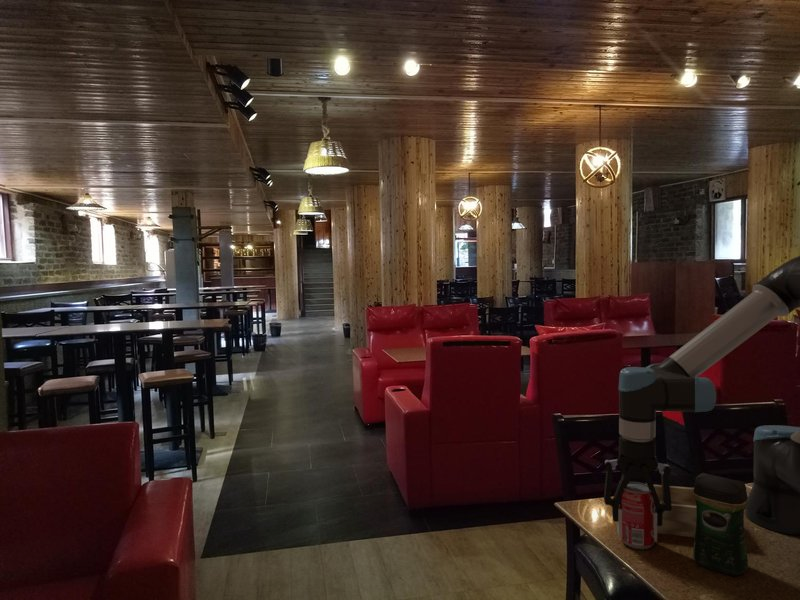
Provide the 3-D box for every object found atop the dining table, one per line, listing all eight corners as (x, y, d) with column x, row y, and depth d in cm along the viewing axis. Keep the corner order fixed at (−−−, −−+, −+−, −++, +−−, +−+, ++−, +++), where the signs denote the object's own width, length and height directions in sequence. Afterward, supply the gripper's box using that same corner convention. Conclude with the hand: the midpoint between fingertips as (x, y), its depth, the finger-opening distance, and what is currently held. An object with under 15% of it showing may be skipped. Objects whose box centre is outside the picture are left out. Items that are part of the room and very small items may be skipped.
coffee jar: (751, 565, 111) (752, 478, 110) (741, 581, 105) (742, 489, 104) (700, 549, 117) (700, 466, 116) (688, 563, 112) (688, 477, 111)
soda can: (658, 552, 116) (658, 494, 116) (623, 549, 118) (623, 492, 117) (649, 536, 123) (650, 481, 123) (617, 534, 125) (617, 479, 124)
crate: (714, 517, 132) (714, 489, 132) (729, 541, 121) (729, 510, 120) (619, 507, 138) (619, 481, 138) (624, 529, 127) (624, 500, 127)
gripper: (681, 434, 120) (680, 534, 121) (590, 429, 126) (590, 524, 127) (689, 445, 113) (688, 550, 114) (592, 438, 119) (592, 539, 120)
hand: (636, 536), depth 121 cm, fingers closed on soda can, 6 cm apart
